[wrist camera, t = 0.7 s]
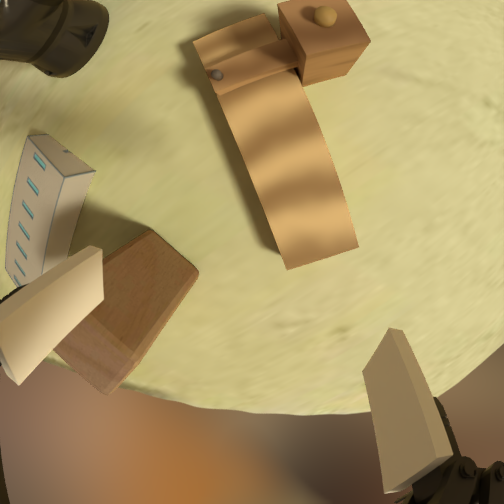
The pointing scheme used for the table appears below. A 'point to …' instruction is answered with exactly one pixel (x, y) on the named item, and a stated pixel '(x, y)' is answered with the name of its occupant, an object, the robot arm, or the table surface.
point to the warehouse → (44, 208)
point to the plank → (283, 151)
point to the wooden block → (128, 311)
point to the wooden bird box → (299, 46)
